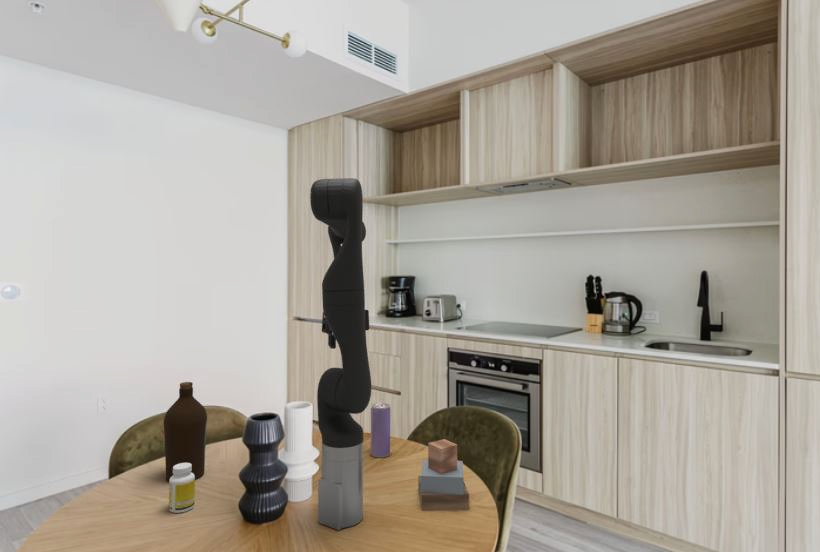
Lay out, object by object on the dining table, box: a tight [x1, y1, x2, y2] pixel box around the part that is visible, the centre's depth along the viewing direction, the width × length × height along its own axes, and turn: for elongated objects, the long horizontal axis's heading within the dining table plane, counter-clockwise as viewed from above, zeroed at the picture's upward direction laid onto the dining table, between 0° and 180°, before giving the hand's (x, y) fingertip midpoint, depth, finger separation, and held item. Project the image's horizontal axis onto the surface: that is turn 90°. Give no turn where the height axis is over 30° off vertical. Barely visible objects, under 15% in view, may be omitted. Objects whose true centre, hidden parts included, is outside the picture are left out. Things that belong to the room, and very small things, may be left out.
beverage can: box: [370, 402, 391, 459], centre depth 147 cm, size 6×6×15 cm
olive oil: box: [163, 381, 208, 482], centre depth 130 cm, size 11×11×25 cm
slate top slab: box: [420, 459, 465, 495], centre depth 118 cm, size 10×10×4 cm
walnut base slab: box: [417, 475, 470, 511], centre depth 118 cm, size 11×11×4 cm
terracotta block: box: [427, 438, 458, 474], centre depth 117 cm, size 5×5×6 cm
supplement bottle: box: [168, 463, 196, 514], centre depth 112 cm, size 5×5×10 cm
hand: (346, 347), depth 136 cm, fingers open, 8 cm apart
